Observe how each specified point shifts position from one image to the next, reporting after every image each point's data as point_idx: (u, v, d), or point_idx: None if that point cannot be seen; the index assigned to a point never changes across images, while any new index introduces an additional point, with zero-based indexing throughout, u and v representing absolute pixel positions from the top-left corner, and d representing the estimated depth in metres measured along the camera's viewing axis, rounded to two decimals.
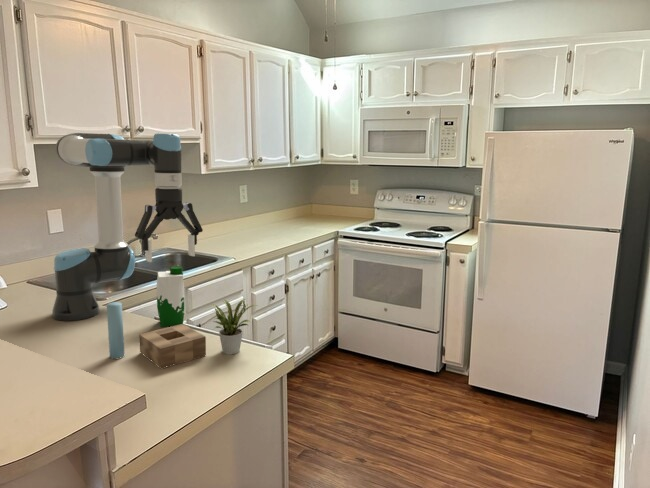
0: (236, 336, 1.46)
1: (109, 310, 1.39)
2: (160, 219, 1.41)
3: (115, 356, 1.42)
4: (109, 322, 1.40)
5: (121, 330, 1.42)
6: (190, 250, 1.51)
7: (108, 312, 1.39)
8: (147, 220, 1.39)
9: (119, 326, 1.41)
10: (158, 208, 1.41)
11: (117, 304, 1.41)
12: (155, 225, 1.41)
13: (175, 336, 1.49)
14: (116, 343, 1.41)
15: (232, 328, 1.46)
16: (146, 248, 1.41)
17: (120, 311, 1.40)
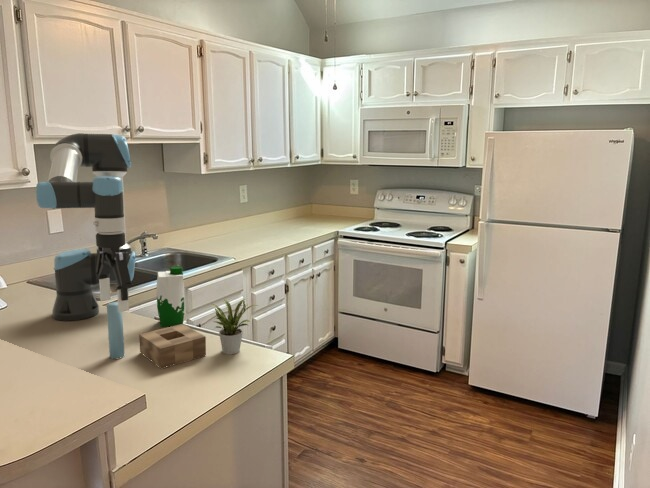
0: (236, 336, 1.46)
1: (109, 310, 1.39)
2: (101, 262, 1.40)
3: (115, 356, 1.42)
4: (109, 322, 1.40)
5: (121, 330, 1.42)
6: None
7: (108, 312, 1.39)
8: (98, 260, 1.43)
9: (119, 326, 1.41)
10: (102, 251, 1.40)
11: (117, 304, 1.41)
12: (101, 267, 1.41)
13: (175, 336, 1.49)
14: (116, 343, 1.41)
15: (232, 328, 1.46)
16: None
17: None
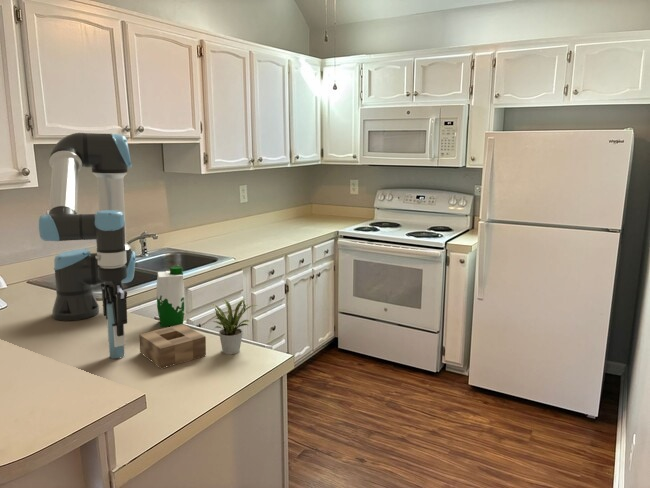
0: (236, 336, 1.46)
1: (108, 310, 1.39)
2: (105, 297, 1.41)
3: (115, 356, 1.42)
4: (109, 322, 1.40)
5: None
6: None
7: (108, 312, 1.39)
8: (103, 298, 1.43)
9: None
10: (104, 284, 1.42)
11: None
12: None
13: (175, 336, 1.49)
14: None
15: (232, 328, 1.46)
16: None
17: None
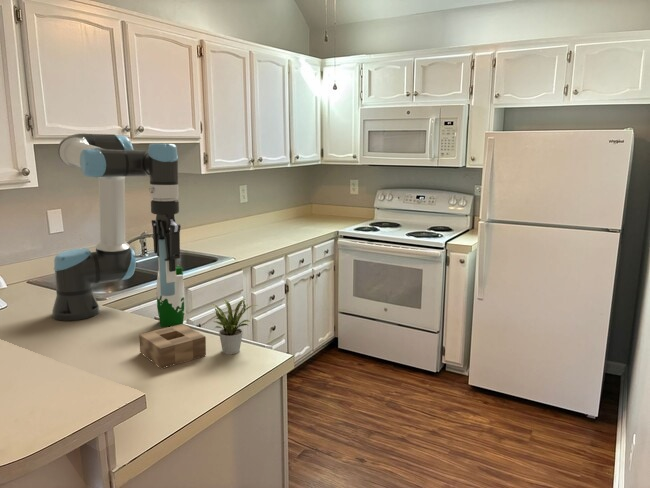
0: (236, 336, 1.46)
1: (161, 245, 1.38)
2: (157, 233, 1.39)
3: (166, 293, 1.40)
4: (161, 257, 1.38)
5: None
6: None
7: (160, 247, 1.38)
8: (154, 234, 1.42)
9: None
10: (156, 220, 1.40)
11: None
12: (158, 240, 1.40)
13: (175, 336, 1.49)
14: None
15: (232, 328, 1.46)
16: None
17: None
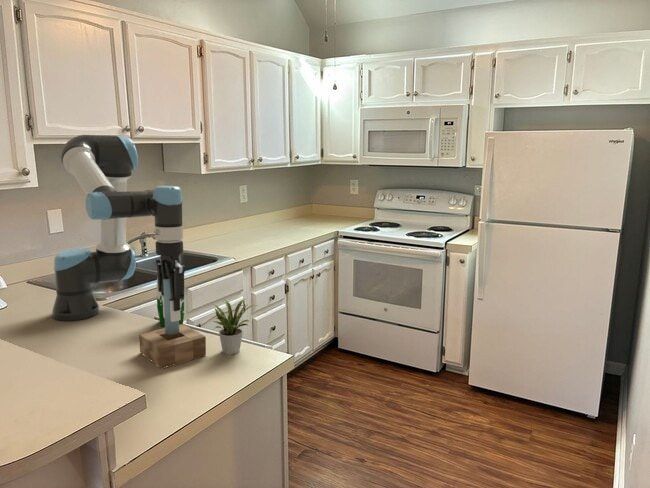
0: (236, 336, 1.46)
1: (165, 285, 1.40)
2: (162, 273, 1.42)
3: (171, 331, 1.43)
4: (166, 297, 1.41)
5: None
6: None
7: (165, 287, 1.40)
8: (158, 273, 1.44)
9: None
10: (160, 259, 1.43)
11: None
12: None
13: (175, 336, 1.49)
14: None
15: (232, 328, 1.46)
16: None
17: None
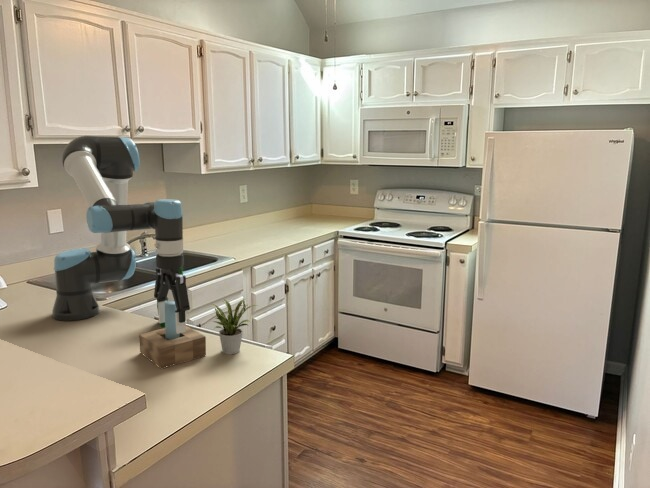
0: (236, 336, 1.46)
1: (167, 309, 1.41)
2: (160, 283, 1.43)
3: None
4: (167, 321, 1.42)
5: None
6: None
7: (166, 311, 1.42)
8: (156, 282, 1.46)
9: None
10: (161, 271, 1.43)
11: (174, 303, 1.43)
12: (160, 288, 1.45)
13: None
14: None
15: (232, 328, 1.46)
16: None
17: None
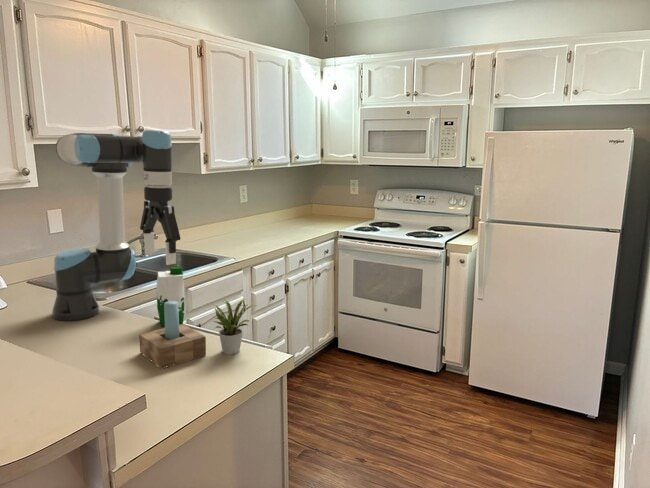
0: (236, 336, 1.46)
1: (166, 309, 1.42)
2: (148, 216, 1.42)
3: None
4: (166, 320, 1.42)
5: (177, 328, 1.44)
6: None
7: (166, 311, 1.42)
8: (143, 214, 1.44)
9: (175, 325, 1.43)
10: (149, 205, 1.42)
11: (174, 303, 1.43)
12: (147, 221, 1.43)
13: None
14: None
15: (232, 328, 1.46)
16: None
17: (177, 310, 1.43)
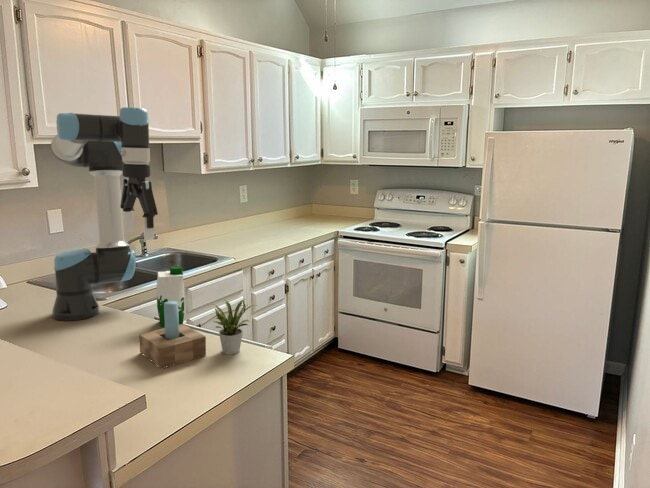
0: (236, 336, 1.46)
1: (166, 309, 1.42)
2: (127, 193, 1.44)
3: None
4: (166, 321, 1.42)
5: (177, 328, 1.44)
6: None
7: (165, 311, 1.42)
8: (123, 192, 1.47)
9: (175, 325, 1.43)
10: (128, 182, 1.44)
11: (174, 303, 1.43)
12: (126, 199, 1.45)
13: None
14: None
15: (232, 328, 1.46)
16: None
17: (177, 310, 1.43)
